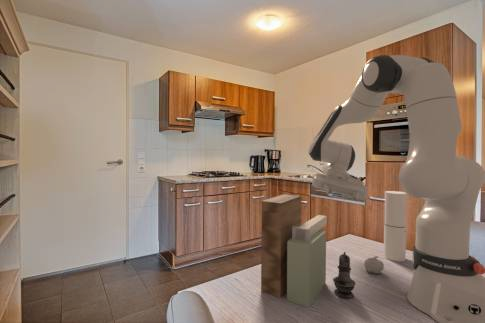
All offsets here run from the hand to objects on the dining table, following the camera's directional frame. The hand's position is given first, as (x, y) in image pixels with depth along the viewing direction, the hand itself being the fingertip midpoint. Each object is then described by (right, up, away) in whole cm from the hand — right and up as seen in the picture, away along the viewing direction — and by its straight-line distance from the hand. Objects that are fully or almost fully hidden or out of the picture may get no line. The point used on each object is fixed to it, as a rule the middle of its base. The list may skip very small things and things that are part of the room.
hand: (342, 195), depth 93 cm
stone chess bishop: (-7, -25, -20) cm, 33 cm away
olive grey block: (-17, -25, -18) cm, 36 cm away
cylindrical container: (+22, -25, +6) cm, 34 cm away
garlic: (+8, -25, -6) cm, 27 cm away
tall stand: (-24, -25, -14) cm, 37 cm away
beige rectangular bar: (-14, -9, -14) cm, 22 cm away
